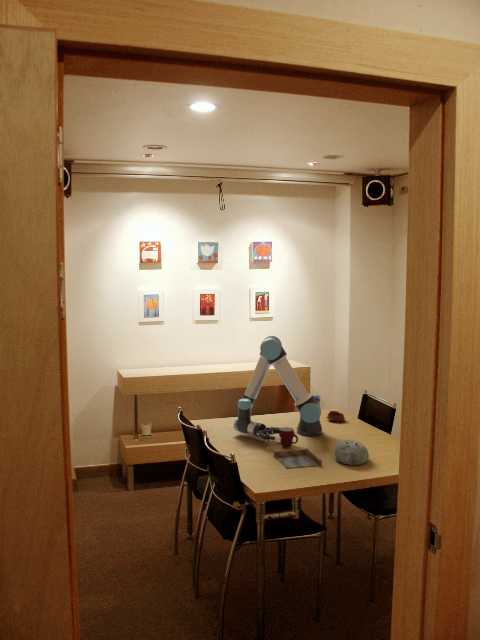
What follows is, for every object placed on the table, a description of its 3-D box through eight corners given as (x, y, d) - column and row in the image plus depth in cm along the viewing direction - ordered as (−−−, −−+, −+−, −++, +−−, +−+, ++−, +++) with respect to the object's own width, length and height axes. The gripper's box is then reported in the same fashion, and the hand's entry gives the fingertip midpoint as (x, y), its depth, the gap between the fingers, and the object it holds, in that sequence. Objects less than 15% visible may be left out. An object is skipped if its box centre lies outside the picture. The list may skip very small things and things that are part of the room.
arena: (307, 454, 289) (307, 448, 289) (321, 466, 271) (321, 460, 271) (273, 456, 284) (273, 451, 284) (285, 469, 266) (285, 463, 266)
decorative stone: (368, 455, 289) (369, 436, 288) (369, 468, 269) (370, 448, 268) (334, 452, 293) (335, 434, 292) (333, 465, 273) (333, 446, 272)
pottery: (327, 423, 351) (327, 416, 351) (324, 415, 371) (325, 408, 370) (345, 423, 350) (346, 416, 350) (342, 415, 370) (342, 409, 369)
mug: (298, 445, 303) (299, 428, 302) (297, 450, 295) (297, 432, 294) (279, 444, 305) (280, 426, 305) (277, 448, 298) (278, 430, 297)
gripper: (270, 431, 323) (300, 438, 309) (243, 440, 304) (273, 449, 290) (270, 418, 322) (300, 425, 309) (243, 427, 304) (274, 435, 290)
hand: (287, 436), depth 300 cm, fingers open, 13 cm apart
